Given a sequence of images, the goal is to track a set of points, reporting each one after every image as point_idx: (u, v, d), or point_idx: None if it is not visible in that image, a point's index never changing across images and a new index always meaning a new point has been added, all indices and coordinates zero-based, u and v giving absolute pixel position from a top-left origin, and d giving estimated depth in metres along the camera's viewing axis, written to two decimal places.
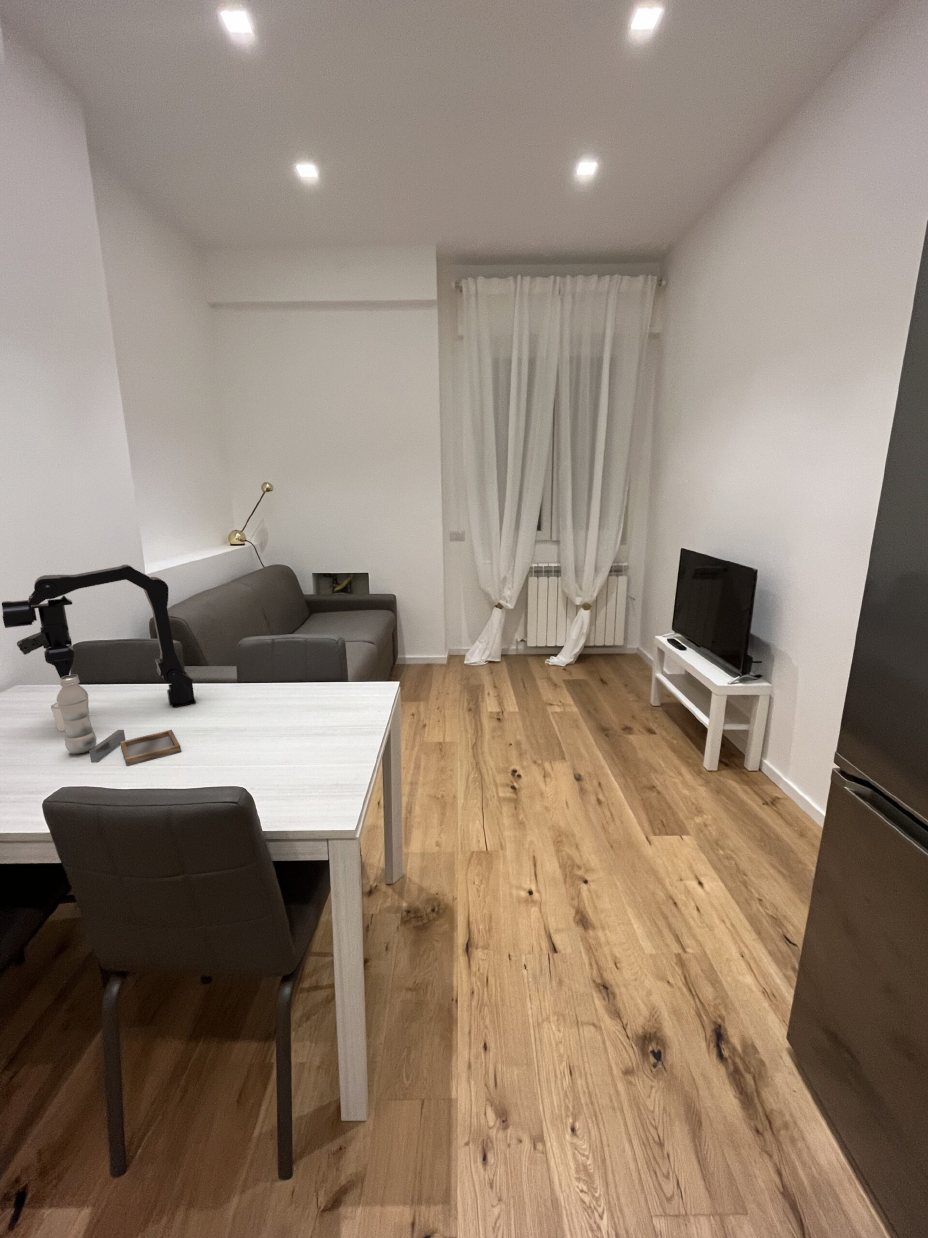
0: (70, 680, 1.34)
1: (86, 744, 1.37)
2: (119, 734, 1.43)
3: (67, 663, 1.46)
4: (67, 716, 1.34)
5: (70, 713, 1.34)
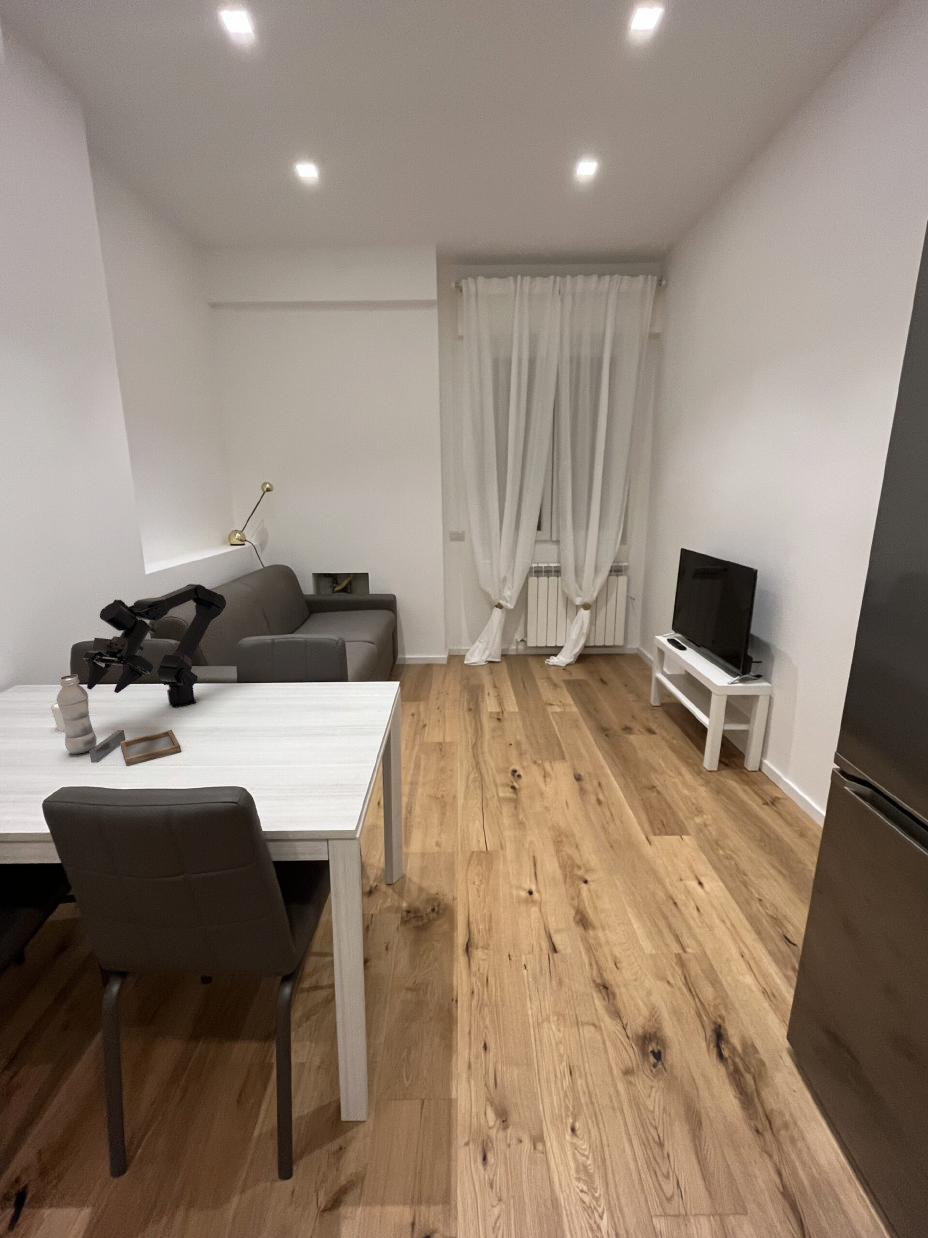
0: (70, 680, 1.34)
1: (86, 744, 1.37)
2: (119, 734, 1.43)
3: (134, 676, 1.46)
4: (67, 716, 1.34)
5: (70, 713, 1.34)
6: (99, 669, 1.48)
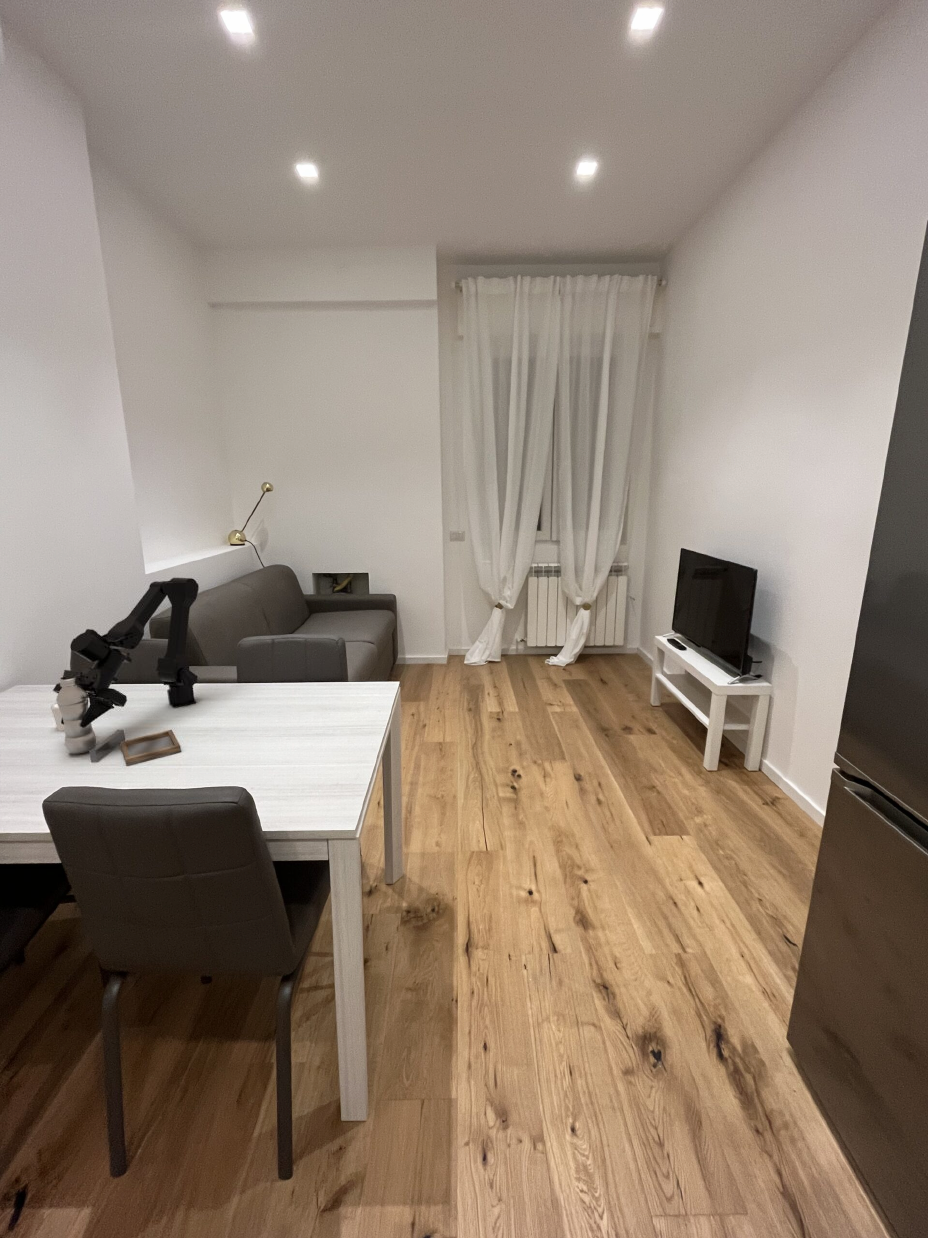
0: (70, 680, 1.34)
1: (86, 744, 1.37)
2: (119, 734, 1.43)
3: (102, 710, 1.39)
4: (67, 716, 1.34)
5: (70, 714, 1.34)
6: None
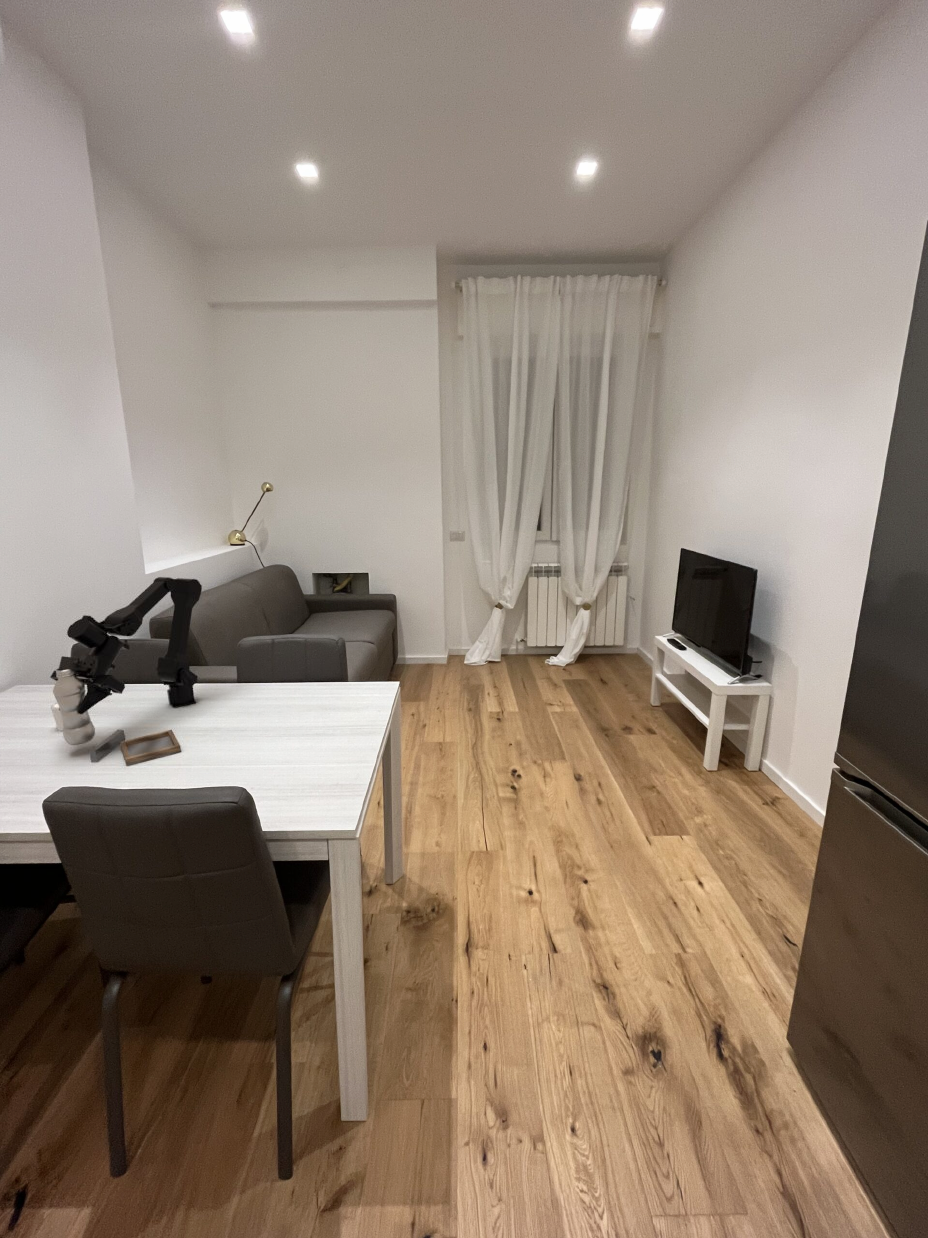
0: (66, 671, 1.33)
1: (84, 735, 1.37)
2: (119, 734, 1.43)
3: (99, 696, 1.38)
4: (64, 707, 1.34)
5: (67, 705, 1.34)
6: None
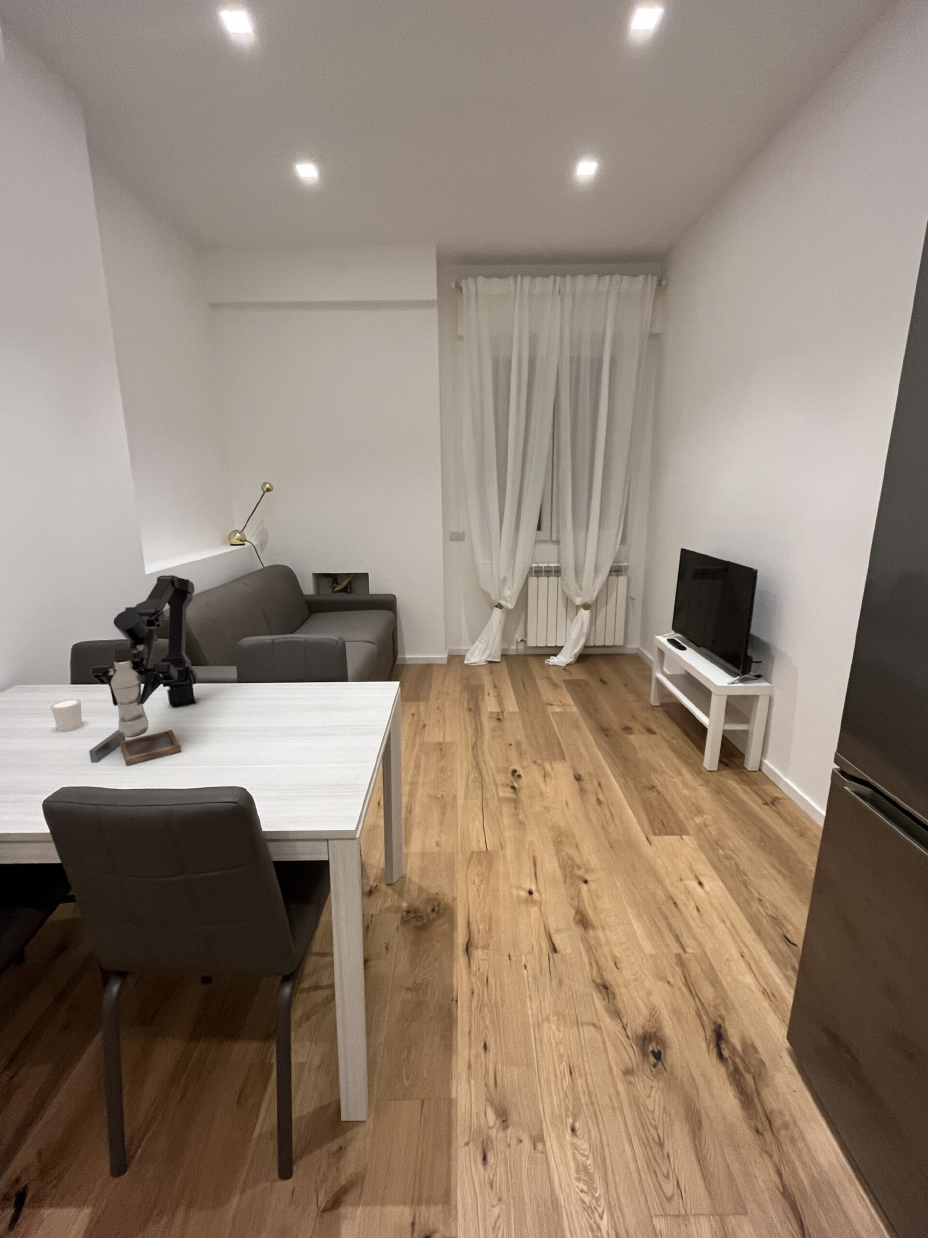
0: (128, 662, 1.33)
1: (144, 725, 1.37)
2: (119, 734, 1.43)
3: (154, 685, 1.40)
4: (127, 699, 1.33)
5: (130, 696, 1.33)
6: None
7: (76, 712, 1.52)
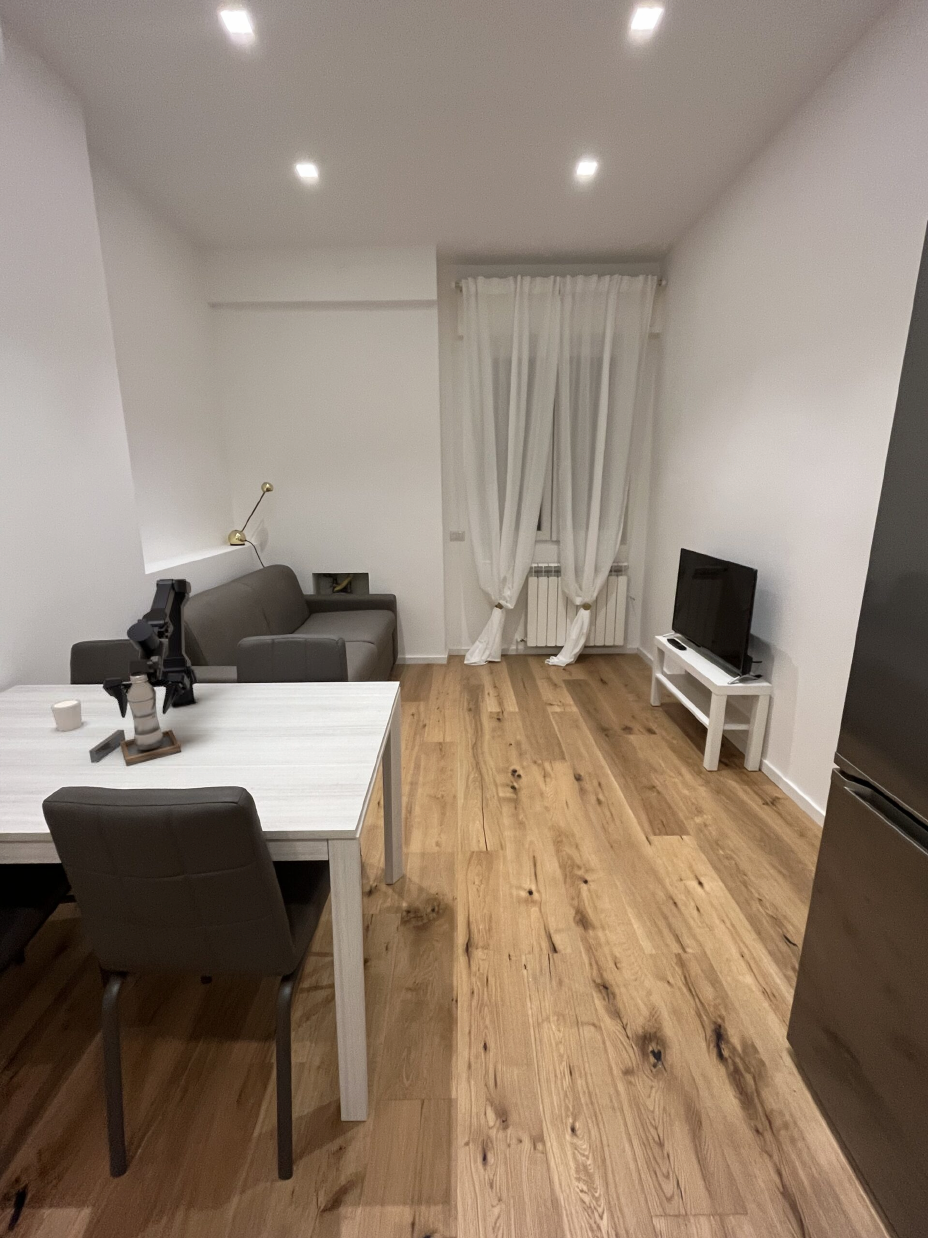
0: (144, 676, 1.35)
1: (160, 738, 1.39)
2: (119, 734, 1.43)
3: (174, 695, 1.42)
4: (143, 712, 1.35)
5: (147, 709, 1.35)
6: (124, 696, 1.38)
7: (76, 712, 1.52)
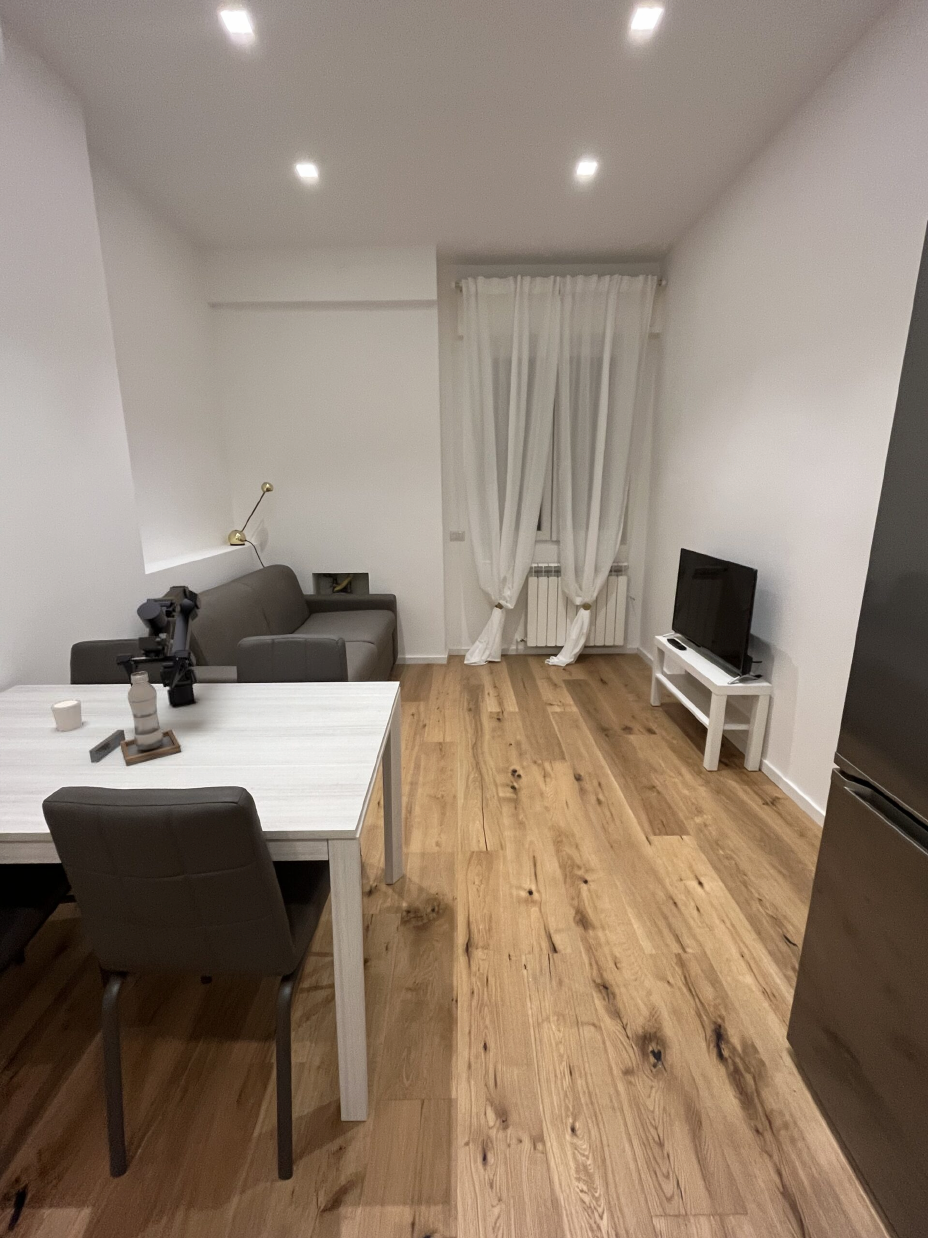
0: (145, 676, 1.35)
1: (160, 738, 1.39)
2: (119, 734, 1.43)
3: (181, 671, 1.50)
4: (144, 712, 1.35)
5: (148, 709, 1.36)
6: (134, 671, 1.47)
7: (76, 712, 1.52)
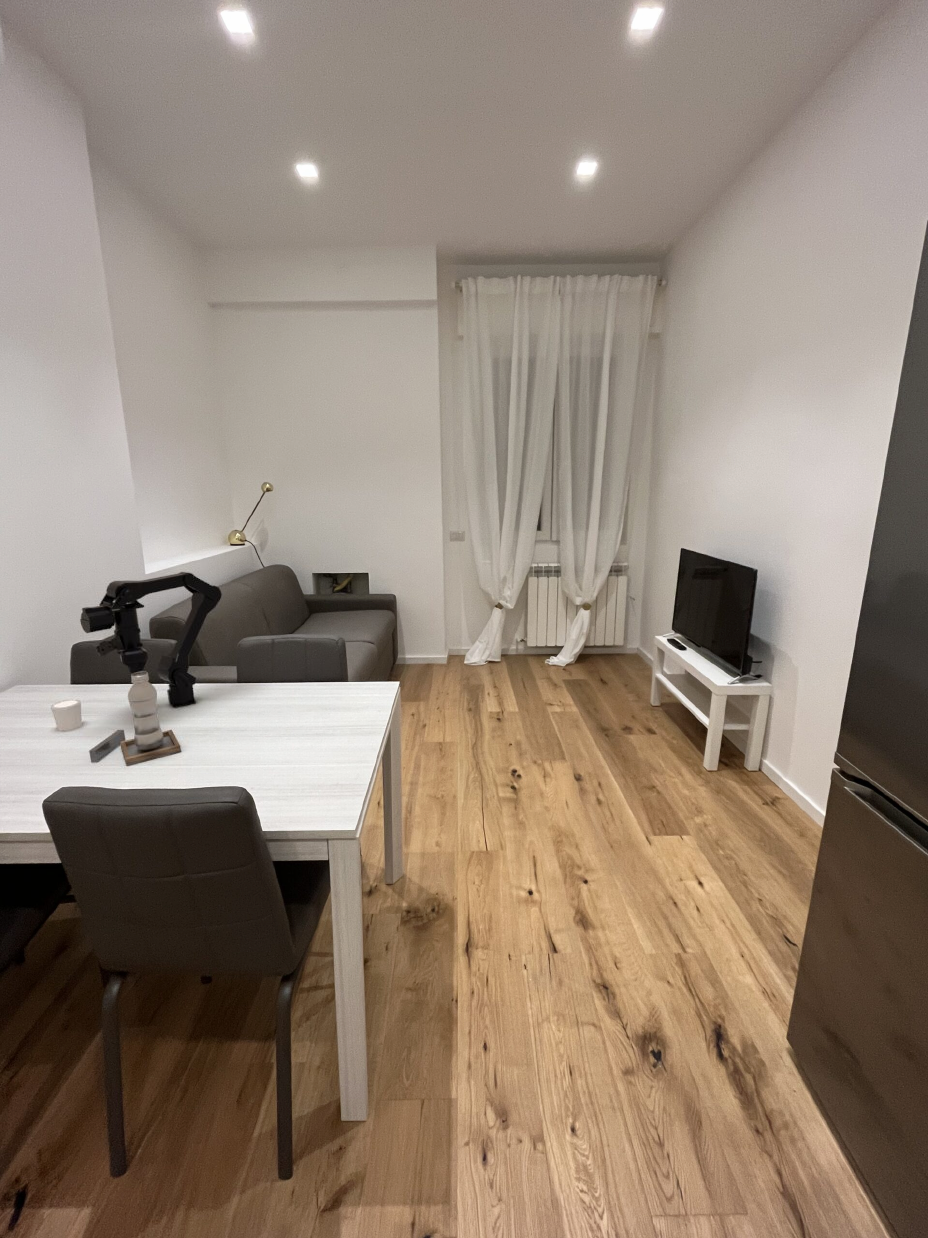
0: (145, 676, 1.35)
1: (160, 738, 1.39)
2: (119, 734, 1.43)
3: (140, 664, 1.53)
4: (144, 712, 1.35)
5: (148, 709, 1.36)
6: None
7: (76, 712, 1.52)
